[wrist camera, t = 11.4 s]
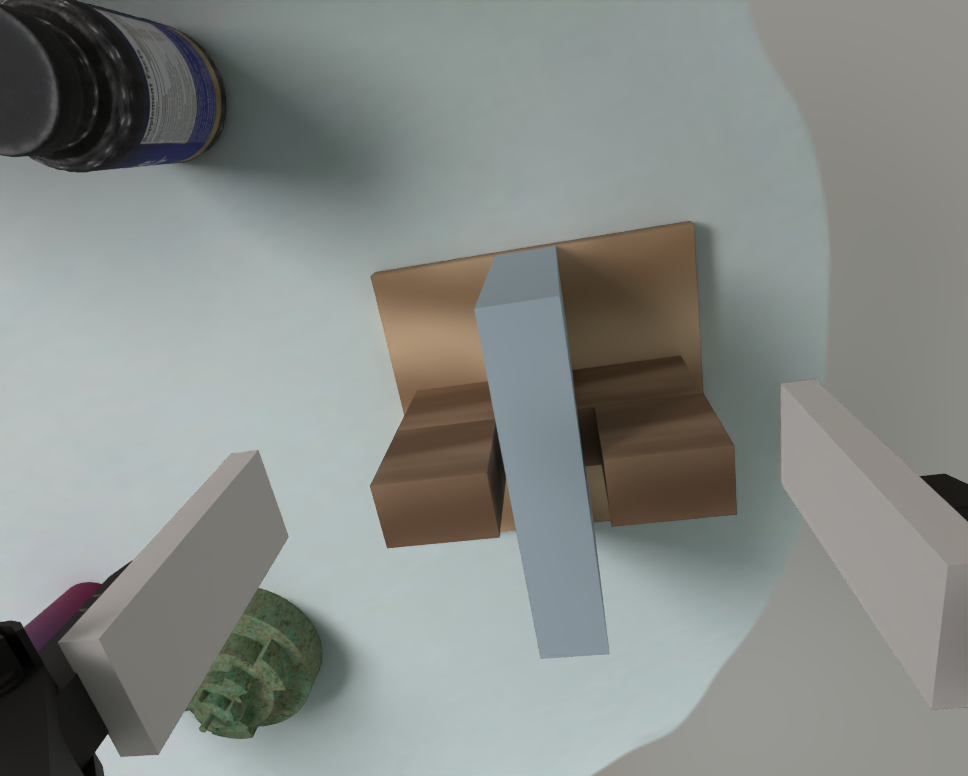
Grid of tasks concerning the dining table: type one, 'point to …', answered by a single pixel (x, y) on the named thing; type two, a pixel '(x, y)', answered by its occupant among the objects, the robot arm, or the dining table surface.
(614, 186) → the dining table surface
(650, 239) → the jig
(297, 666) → the decorative artifact
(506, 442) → the slotted plate
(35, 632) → the cup
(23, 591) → the dining table surface
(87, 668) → the robot arm
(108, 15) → the pill bottle
